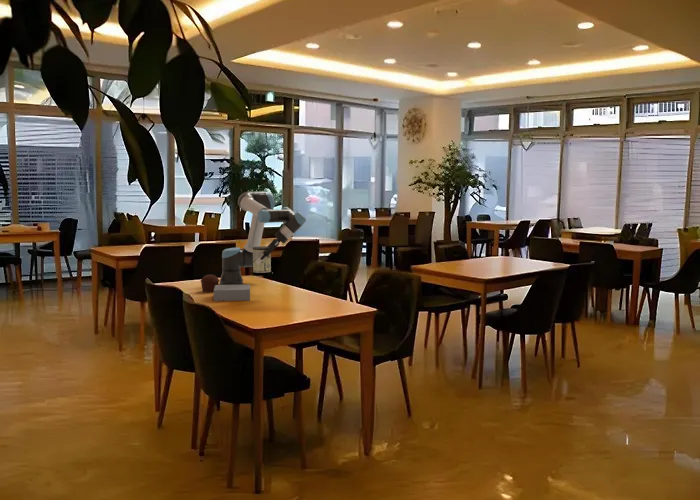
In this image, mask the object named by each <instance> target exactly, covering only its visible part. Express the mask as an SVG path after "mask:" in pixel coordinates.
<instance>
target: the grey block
mask: <svg viewBox="0 0 700 500" xmlns="http://www.w3.org/2000/svg"><path fill="white" fill-rule="evenodd" d="M223 300H224V301H223ZM229 301H230V302H232V301H235V302H236V301H241V302H242V301H244V302H245V301H251V284H240V285H221V284H218V285H215V288H214V292H213V302H229Z"/></svg>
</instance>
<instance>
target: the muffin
mask: <svg viewBox="0 0 700 500" xmlns="http://www.w3.org/2000/svg"><path fill="white" fill-rule="evenodd" d="M200 284H201V289H202V293H214V288H215V285H219V284H220V278H219V277H218V276H216V275H215V274H206V275H204V276H203V277H202V278H201V280H200Z"/></svg>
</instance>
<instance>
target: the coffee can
mask: <svg viewBox="0 0 700 500" xmlns="http://www.w3.org/2000/svg"><path fill="white" fill-rule="evenodd" d="M268 248H269V247H267V246H265V245H264V246H261V245H260V247H253V267H252V269H253V270H252V272H253V273H256V274H257V273H258V274H259V273H260V274H261V273H262V274H264V273H271V272H272V270H271V269H272V266H271V262H272V258H271V257H272V254H271V253H272V252H271V253H270V254H269V256H267V257H266V258H265V259H264V260H263V261H262V262H261V263H260V264H259V265H258V264H257V263H256V262H255V261H256V260H257V259H258V258H259V257H260V256H261V255H262V254H263V252H264V253H265V251H266V250H267V249H268Z"/></svg>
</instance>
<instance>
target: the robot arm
mask: <svg viewBox="0 0 700 500" xmlns="http://www.w3.org/2000/svg"><path fill="white" fill-rule="evenodd" d="M237 199H238V200H237V205H238V206H239V208H240V209H241V210H242V211H244V212H249V213H251V214H252V215H251V221H250V226H249V232H248V237H247V241H246V244H245V245H243V249H241V248H240V247H230V248H225V249H224V250H222V253H221V260H222V261H221V264H222V265H221V267H222V270H221V271H222V273H221V276H220V278H219V285H244V279H243V276H242V273H241V268H250V267H251V268H253V247H260V246H261V244H262V243H261V242H262V238H263V233H264V228H265V225H266V224H267V223H270V224H272V223H274V224H275V223H284V224H283V225H282V226H281V228H279V230H278V231H277V232H276V233H275V234H274V236H275V237H276V238H274V239H272V241H271V242H270V243H269V244H268V245H267V246H266V247H269V248H268V249H267V250H266V251H265V253H264V252H263V254H262V255H261V256H260V257H259V258H258V259H257V260H256V261H255V262H256V263H257V264H258V265H259V264H260V263H261V262H262V261H263V260H264V259H265V258H266V257H267V256H269V254H270V253H272V252H273V251H274V250H275V249H276V248H277V247H279V246H280V243H282V244H283V245H284V244H285V243H287V241H288V239H290V238H291V237H294V236H293V235H294V234H295V233H296V232H298V230H299V229H301V227H302V226H303V225H304V224H305V223H306V222H307V219H306V217H305V216H304V215H303V214H301V212H299V211H296V212H294V211H293V209H291V208H289V207H288V206H284V207H281V208H280V209H274V208H275V198H274V195H273V193H272V192H270V191H265V190H264V191H245V192H242V193H241V194H240V195H239V196H238V198H237Z"/></svg>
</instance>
